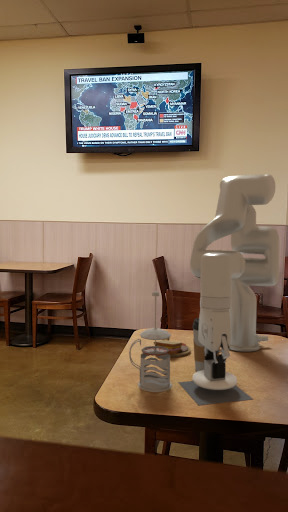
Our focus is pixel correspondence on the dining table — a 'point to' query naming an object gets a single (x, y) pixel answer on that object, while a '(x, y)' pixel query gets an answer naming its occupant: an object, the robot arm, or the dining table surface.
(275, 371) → the dining table surface
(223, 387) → the lid
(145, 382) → the french press
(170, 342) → the toy sandwich meal
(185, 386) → the mat
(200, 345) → the coffee cup
